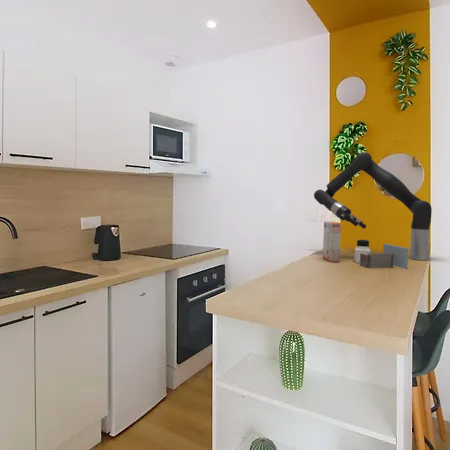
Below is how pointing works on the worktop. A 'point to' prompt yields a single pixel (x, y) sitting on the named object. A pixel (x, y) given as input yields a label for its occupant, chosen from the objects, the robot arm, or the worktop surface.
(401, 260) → the door board
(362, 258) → the keeper
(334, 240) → the cracker box
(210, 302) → the worktop surface
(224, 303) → the worktop surface
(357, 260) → the medicine bottle
